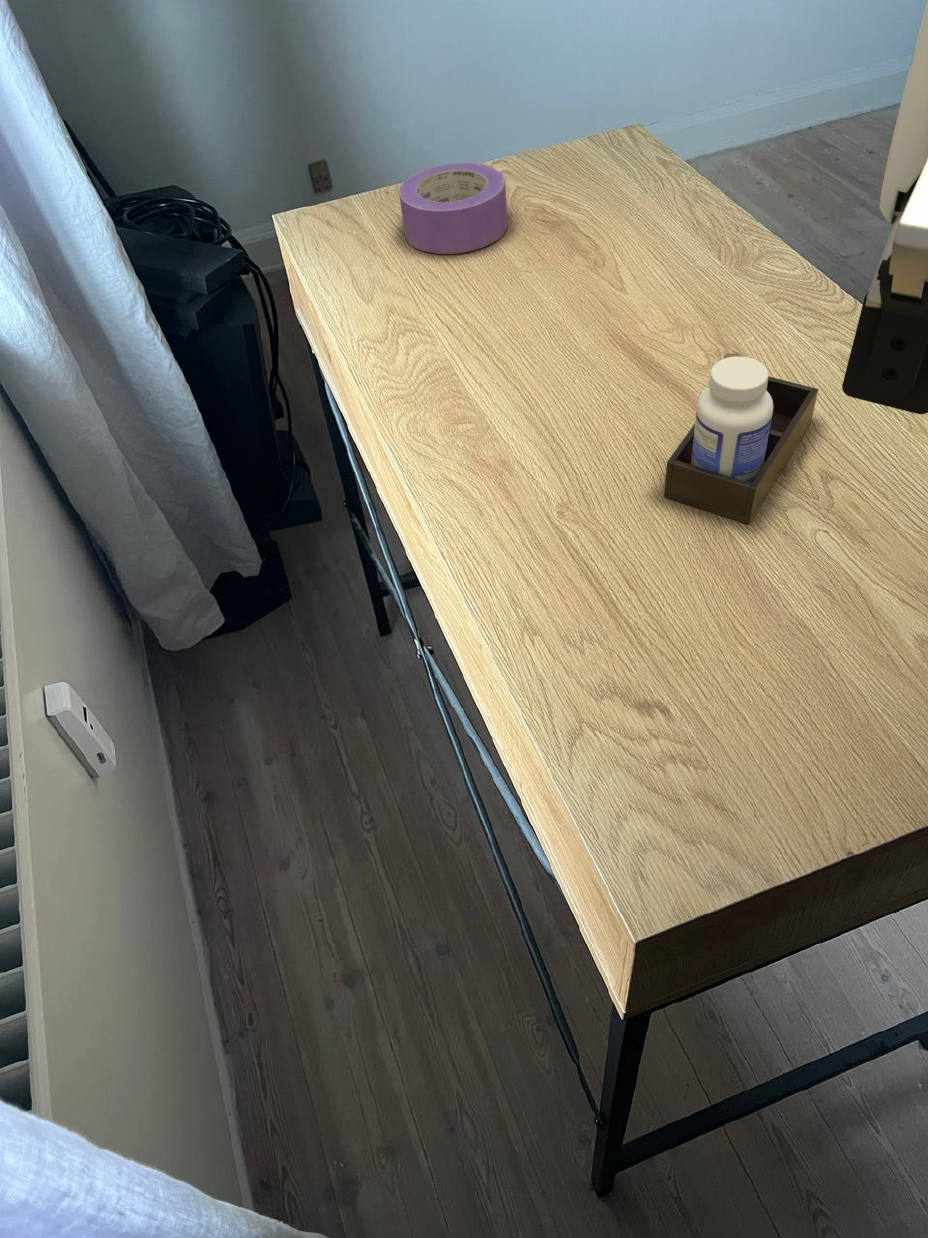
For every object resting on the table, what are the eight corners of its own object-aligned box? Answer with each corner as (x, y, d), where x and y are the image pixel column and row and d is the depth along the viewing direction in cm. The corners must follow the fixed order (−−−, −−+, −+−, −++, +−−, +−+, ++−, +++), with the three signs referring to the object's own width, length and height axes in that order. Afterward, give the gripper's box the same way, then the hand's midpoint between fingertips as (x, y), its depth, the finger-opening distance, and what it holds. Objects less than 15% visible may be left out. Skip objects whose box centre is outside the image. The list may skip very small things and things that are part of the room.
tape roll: (404, 211, 109) (398, 167, 106) (503, 199, 109) (500, 155, 105) (406, 261, 102) (399, 216, 98) (512, 248, 101) (509, 202, 98)
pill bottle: (762, 457, 74) (781, 351, 67) (758, 503, 71) (779, 396, 63) (692, 451, 75) (704, 347, 68) (685, 496, 72) (697, 391, 65)
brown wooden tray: (810, 424, 77) (818, 388, 75) (749, 524, 70) (755, 489, 68) (730, 403, 80) (735, 367, 78) (663, 497, 73) (666, 461, 71)
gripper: (1244, -174, 18) (967, 492, 31) (1306, -312, 27) (1071, 250, 40) (853, -175, 21) (749, 431, 34) (1025, -299, 30) (891, 219, 43)
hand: (923, 333), depth 37 cm, fingers open, 9 cm apart
